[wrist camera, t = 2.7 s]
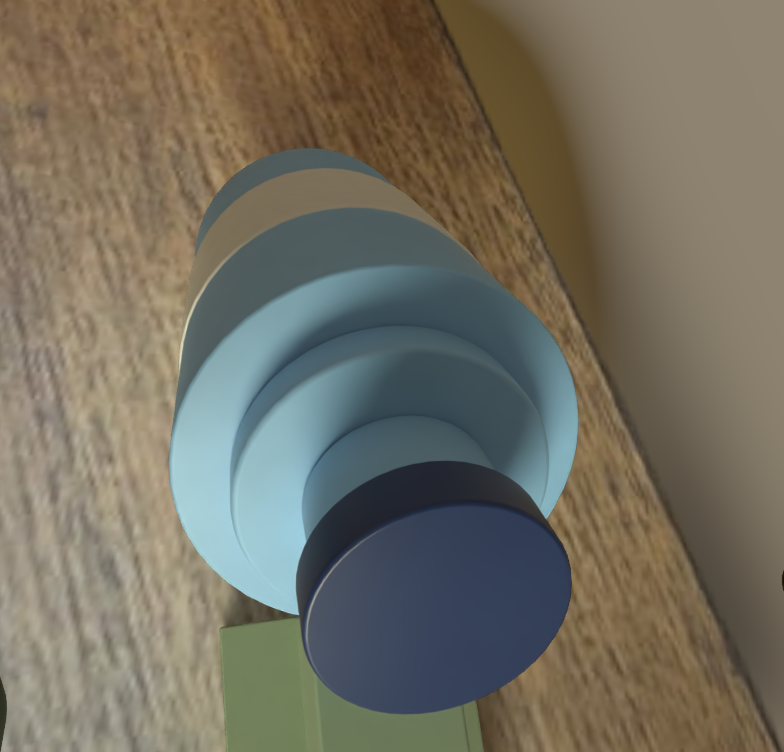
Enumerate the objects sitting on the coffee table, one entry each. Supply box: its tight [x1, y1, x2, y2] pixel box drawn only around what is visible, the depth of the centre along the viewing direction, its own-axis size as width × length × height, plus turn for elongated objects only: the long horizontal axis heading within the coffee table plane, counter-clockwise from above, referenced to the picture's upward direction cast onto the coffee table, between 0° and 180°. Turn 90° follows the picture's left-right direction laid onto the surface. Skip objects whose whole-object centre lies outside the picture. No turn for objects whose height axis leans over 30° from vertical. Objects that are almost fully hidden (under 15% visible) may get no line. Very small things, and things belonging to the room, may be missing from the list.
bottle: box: [169, 148, 579, 715], centre depth 14 cm, size 12×6×12 cm, turn 8°
